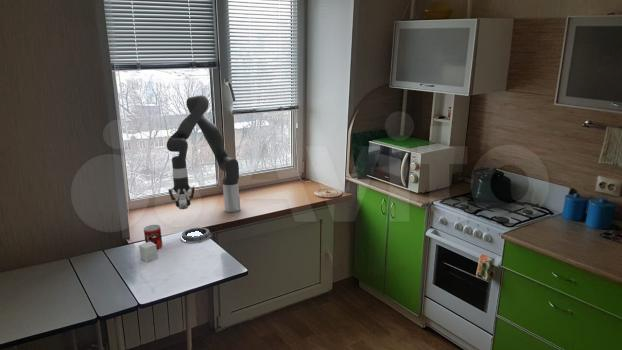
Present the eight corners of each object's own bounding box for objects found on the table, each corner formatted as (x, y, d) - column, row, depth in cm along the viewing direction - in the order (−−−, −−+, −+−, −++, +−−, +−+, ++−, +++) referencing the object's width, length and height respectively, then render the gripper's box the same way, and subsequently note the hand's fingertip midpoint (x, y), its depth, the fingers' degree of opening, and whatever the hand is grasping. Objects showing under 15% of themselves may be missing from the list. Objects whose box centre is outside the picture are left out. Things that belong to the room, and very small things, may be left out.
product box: (158, 258, 223) (156, 244, 221) (146, 262, 219) (144, 248, 217) (152, 255, 227) (150, 241, 225) (140, 259, 223) (138, 244, 221)
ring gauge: (210, 229, 257) (209, 225, 257) (212, 240, 243) (212, 235, 242) (180, 233, 253) (179, 229, 252) (180, 244, 238) (180, 240, 238)
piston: (188, 206, 252) (187, 193, 250) (188, 208, 248) (187, 196, 246) (178, 207, 251) (177, 194, 249) (178, 209, 247) (177, 197, 245)
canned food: (143, 249, 233) (140, 229, 231) (153, 243, 241) (150, 223, 238) (155, 251, 231) (153, 231, 228) (165, 245, 238) (163, 225, 235)
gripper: (194, 172, 250) (196, 203, 254) (166, 175, 247) (169, 205, 251) (194, 176, 243) (197, 207, 247) (165, 178, 240) (169, 210, 244)
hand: (183, 206), depth 249 cm, fingers closed on piston, 4 cm apart
